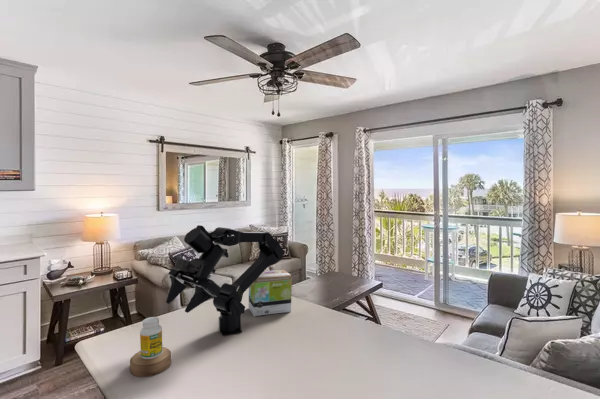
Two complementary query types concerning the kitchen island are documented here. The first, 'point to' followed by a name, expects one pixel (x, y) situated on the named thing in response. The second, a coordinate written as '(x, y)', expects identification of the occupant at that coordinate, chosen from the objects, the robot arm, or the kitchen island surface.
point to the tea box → (271, 293)
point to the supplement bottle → (151, 338)
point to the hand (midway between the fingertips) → (176, 307)
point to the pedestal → (150, 364)
